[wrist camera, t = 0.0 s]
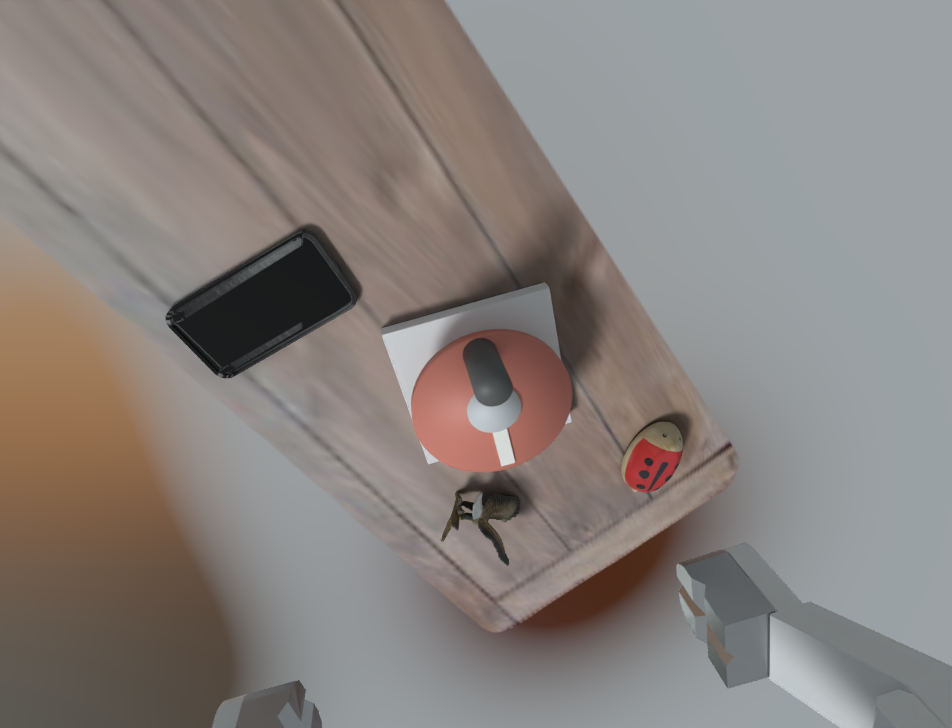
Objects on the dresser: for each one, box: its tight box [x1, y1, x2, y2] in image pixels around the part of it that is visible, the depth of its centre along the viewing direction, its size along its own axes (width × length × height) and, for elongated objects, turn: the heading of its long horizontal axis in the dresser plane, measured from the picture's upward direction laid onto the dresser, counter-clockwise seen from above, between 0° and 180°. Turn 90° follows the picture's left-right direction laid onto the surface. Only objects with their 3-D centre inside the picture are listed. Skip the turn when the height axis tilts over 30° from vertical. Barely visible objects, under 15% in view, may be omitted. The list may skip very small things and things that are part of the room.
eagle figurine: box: [441, 492, 520, 566], centre depth 60 cm, size 8×7×9 cm
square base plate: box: [382, 282, 571, 464], centre depth 52 cm, size 16×16×4 cm
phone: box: [166, 230, 357, 378], centre depth 46 cm, size 8×1×15 cm
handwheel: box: [411, 329, 573, 472], centre depth 46 cm, size 15×15×7 cm
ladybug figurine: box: [621, 422, 683, 492], centre depth 62 cm, size 7×10×4 cm
